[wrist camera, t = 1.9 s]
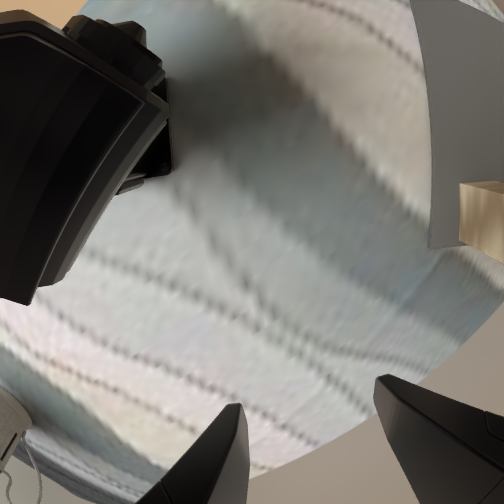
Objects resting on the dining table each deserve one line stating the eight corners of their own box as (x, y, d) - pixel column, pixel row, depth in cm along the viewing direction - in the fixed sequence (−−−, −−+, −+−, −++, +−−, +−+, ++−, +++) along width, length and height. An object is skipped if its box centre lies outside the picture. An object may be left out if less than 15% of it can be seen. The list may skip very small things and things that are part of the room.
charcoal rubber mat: (404, -16, 13) (406, -18, 13) (513, 31, 13) (516, 30, 13) (427, 247, 20) (430, 248, 20) (526, 237, 20) (529, 239, 20)
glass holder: (-17, 371, 24) (-72, 442, 10) (68, 434, 27) (29, 524, 13) (-13, 402, 26) (-56, 465, 12) (62, 456, 29) (31, 530, 15)
